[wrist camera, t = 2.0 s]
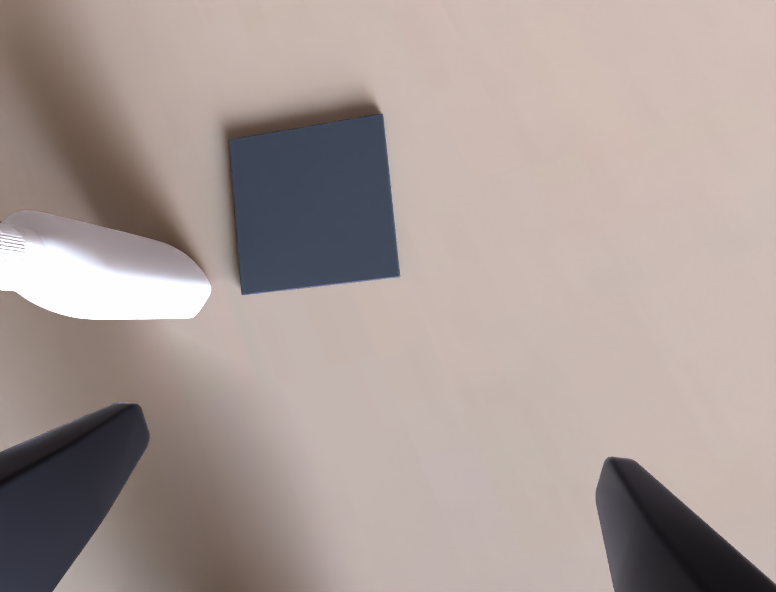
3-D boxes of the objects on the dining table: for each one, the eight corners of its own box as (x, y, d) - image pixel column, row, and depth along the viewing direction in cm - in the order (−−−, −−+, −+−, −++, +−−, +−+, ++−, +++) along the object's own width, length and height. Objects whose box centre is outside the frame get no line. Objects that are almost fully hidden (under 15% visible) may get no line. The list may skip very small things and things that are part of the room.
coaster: (400, 276, 22) (399, 276, 22) (243, 295, 23) (241, 294, 23) (383, 115, 22) (382, 113, 22) (231, 141, 24) (228, 139, 23)
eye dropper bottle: (159, 338, 24) (-126, 362, 12) (122, 253, 24) (-184, 196, 12) (222, 304, 23) (-9, 295, 11) (183, 219, 24) (-75, 125, 12)
